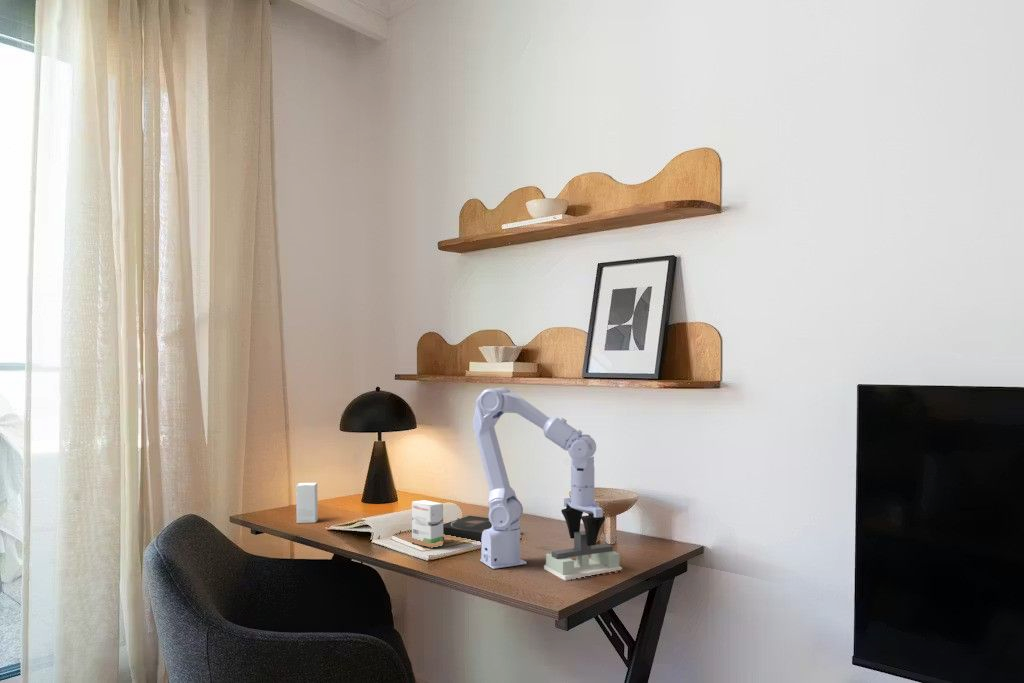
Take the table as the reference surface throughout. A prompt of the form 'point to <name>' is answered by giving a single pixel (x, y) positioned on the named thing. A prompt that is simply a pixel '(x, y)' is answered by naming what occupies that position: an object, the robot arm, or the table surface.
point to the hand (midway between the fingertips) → (582, 541)
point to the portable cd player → (467, 527)
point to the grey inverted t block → (581, 548)
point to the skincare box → (306, 502)
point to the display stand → (582, 565)
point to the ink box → (427, 521)
